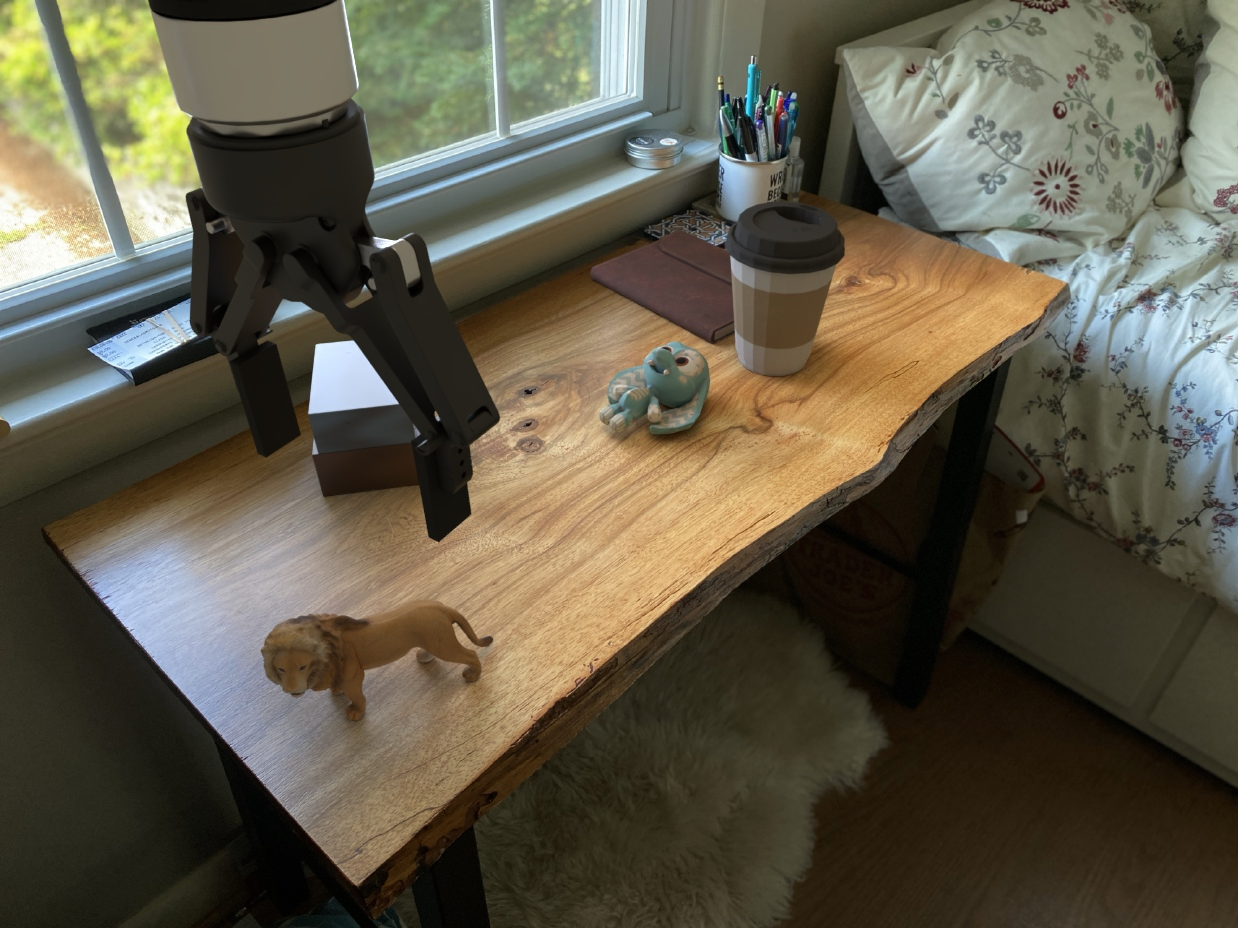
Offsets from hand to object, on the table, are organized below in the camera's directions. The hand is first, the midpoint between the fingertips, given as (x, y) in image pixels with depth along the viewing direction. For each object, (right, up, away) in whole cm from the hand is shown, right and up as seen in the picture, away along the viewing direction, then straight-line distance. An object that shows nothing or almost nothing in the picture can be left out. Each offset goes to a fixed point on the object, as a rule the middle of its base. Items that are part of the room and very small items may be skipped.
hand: (360, 483), depth 54 cm
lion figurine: (-1, -15, +10) cm, 17 cm away
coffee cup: (+31, +12, +43) cm, 54 cm away
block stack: (-7, +2, +31) cm, 31 cm away
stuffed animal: (+18, +6, +35) cm, 40 cm away
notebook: (+24, +21, +54) cm, 63 cm away
